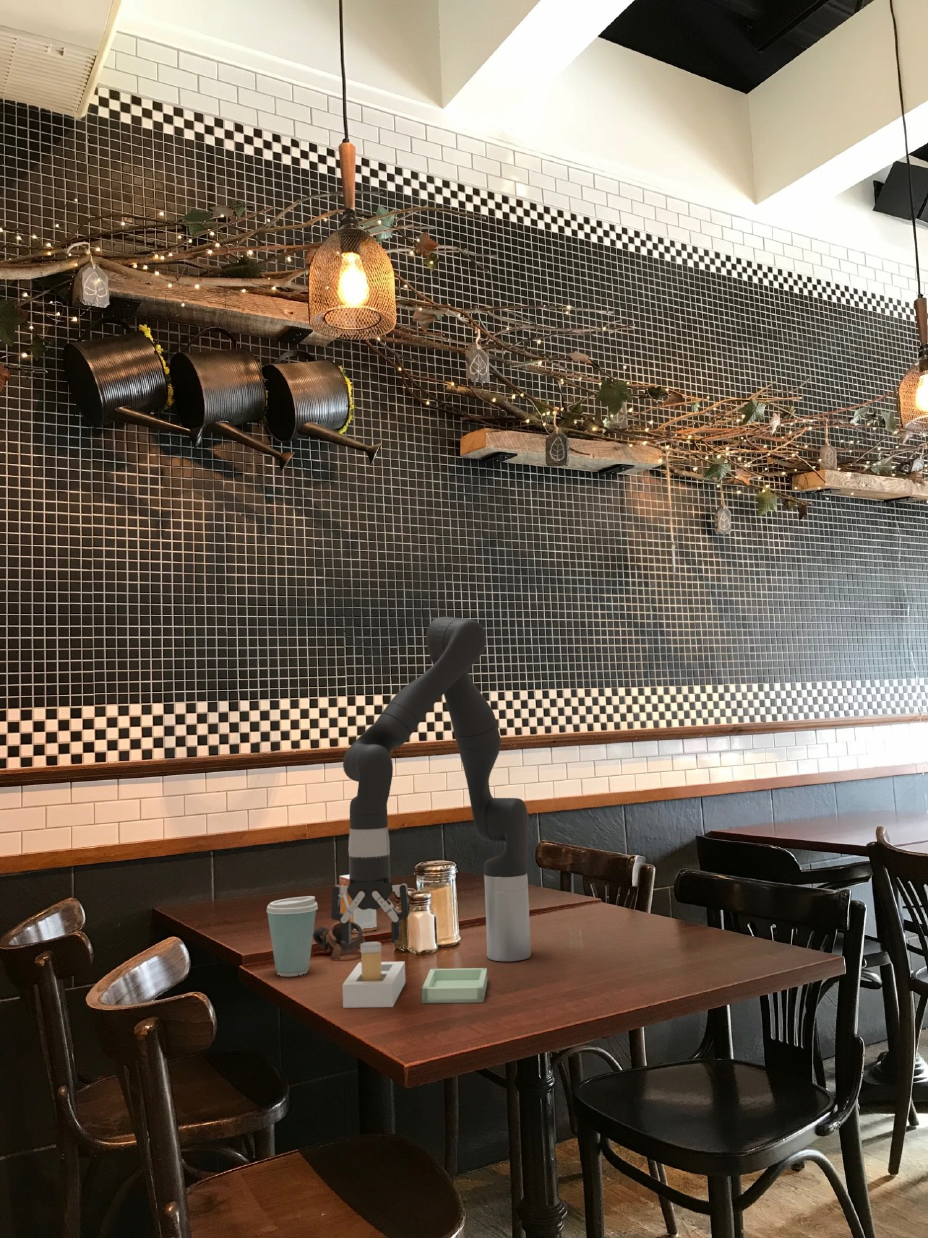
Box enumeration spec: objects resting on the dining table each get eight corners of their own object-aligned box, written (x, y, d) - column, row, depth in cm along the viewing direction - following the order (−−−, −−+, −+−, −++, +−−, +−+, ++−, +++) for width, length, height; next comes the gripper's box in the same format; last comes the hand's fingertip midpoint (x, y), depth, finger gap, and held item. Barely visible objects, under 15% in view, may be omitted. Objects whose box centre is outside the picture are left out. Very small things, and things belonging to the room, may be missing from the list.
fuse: (363, 997, 182) (362, 942, 183) (384, 997, 181) (382, 941, 182) (360, 1003, 178) (358, 946, 179) (380, 1003, 178) (379, 946, 179)
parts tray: (431, 982, 190) (430, 969, 191) (487, 981, 190) (487, 968, 190) (422, 1003, 176) (421, 989, 177) (483, 1002, 176) (482, 988, 176)
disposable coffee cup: (259, 980, 197) (258, 903, 198) (276, 966, 208) (275, 894, 209) (310, 980, 196) (309, 903, 197) (325, 966, 206) (323, 893, 208)
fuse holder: (359, 983, 191) (359, 962, 192) (405, 982, 191) (404, 961, 191) (343, 1008, 176) (342, 984, 176) (392, 1007, 175) (392, 984, 175)
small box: (339, 929, 243) (338, 875, 244) (363, 926, 246) (361, 872, 247) (353, 935, 236) (352, 879, 237) (377, 931, 239) (376, 876, 240)
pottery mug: (367, 951, 221) (371, 922, 217) (354, 980, 212) (358, 950, 209) (317, 937, 222) (320, 908, 219) (302, 966, 214) (304, 936, 211)
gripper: (410, 849, 185) (412, 938, 184) (335, 851, 186) (336, 939, 185) (404, 854, 178) (407, 946, 176) (327, 856, 179) (328, 948, 177)
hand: (371, 942), depth 180 cm, fingers open, 8 cm apart
